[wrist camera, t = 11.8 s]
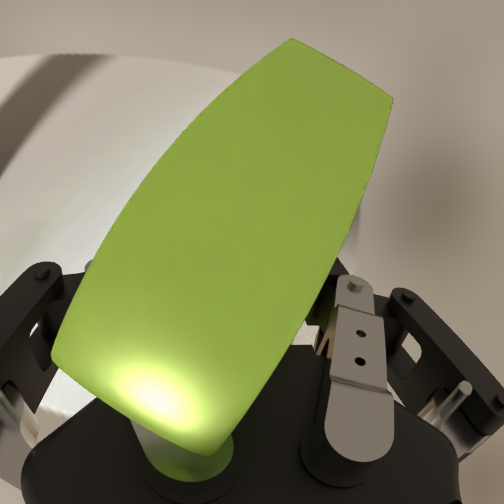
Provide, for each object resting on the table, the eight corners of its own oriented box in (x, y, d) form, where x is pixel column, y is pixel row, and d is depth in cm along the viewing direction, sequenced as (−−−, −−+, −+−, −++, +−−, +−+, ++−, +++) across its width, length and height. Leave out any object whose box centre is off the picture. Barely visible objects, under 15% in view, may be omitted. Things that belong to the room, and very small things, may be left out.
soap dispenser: (145, 327, 21) (-73, 240, 2) (194, 249, 23) (236, -28, 4) (215, 369, 21) (382, 522, 2) (260, 289, 23) (484, 120, 4)
